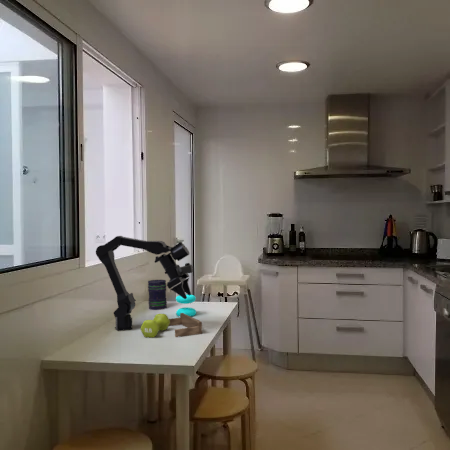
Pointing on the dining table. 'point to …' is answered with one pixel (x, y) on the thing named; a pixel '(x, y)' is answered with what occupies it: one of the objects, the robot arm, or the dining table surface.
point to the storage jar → (157, 294)
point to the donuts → (189, 299)
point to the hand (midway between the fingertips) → (188, 296)
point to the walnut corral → (186, 325)
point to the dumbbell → (155, 325)
